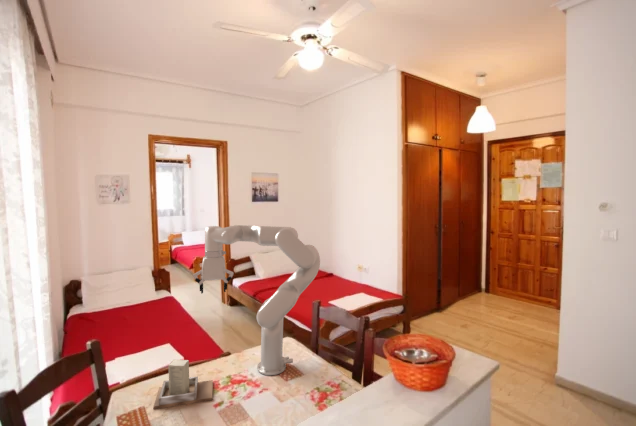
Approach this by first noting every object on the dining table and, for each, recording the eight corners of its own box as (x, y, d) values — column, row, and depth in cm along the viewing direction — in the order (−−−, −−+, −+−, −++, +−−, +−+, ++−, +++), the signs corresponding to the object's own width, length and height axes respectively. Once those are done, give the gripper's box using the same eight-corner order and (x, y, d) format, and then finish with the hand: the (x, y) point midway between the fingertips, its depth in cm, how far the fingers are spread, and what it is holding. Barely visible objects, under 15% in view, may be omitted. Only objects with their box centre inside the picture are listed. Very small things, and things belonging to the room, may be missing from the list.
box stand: (212, 382, 135) (212, 374, 134) (212, 400, 123) (212, 391, 123) (159, 389, 129) (159, 381, 129) (153, 409, 117) (153, 399, 117)
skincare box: (189, 390, 127) (189, 359, 126) (184, 397, 123) (184, 365, 122) (174, 389, 128) (174, 358, 127) (168, 396, 123) (168, 364, 123)
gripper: (233, 252, 152) (233, 288, 153) (193, 253, 147) (193, 290, 148) (234, 255, 145) (233, 293, 146) (192, 256, 140) (192, 295, 141)
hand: (213, 291), depth 147 cm, fingers open, 9 cm apart
